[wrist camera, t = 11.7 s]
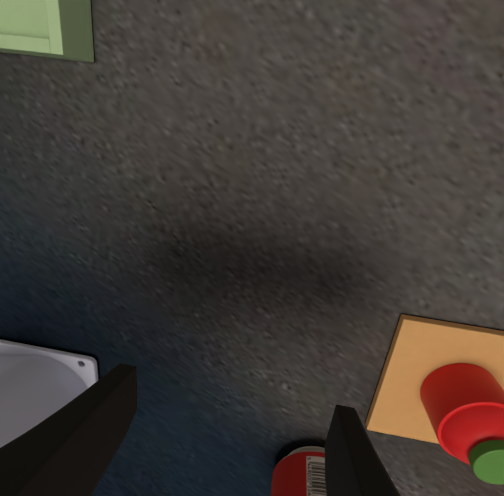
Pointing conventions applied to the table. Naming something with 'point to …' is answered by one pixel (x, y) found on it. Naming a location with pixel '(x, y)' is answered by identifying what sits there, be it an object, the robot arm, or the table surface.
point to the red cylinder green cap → (468, 417)
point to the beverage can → (300, 473)
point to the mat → (427, 370)
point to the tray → (47, 28)
